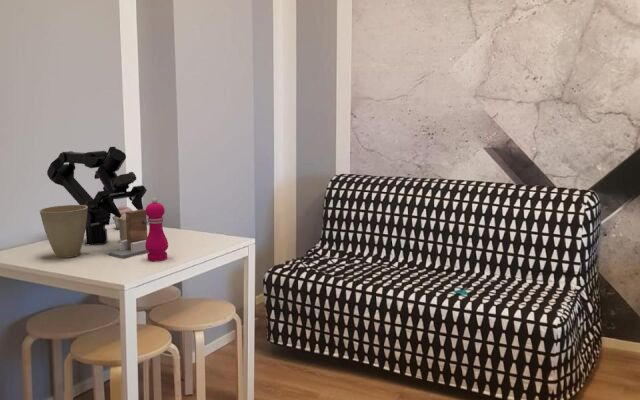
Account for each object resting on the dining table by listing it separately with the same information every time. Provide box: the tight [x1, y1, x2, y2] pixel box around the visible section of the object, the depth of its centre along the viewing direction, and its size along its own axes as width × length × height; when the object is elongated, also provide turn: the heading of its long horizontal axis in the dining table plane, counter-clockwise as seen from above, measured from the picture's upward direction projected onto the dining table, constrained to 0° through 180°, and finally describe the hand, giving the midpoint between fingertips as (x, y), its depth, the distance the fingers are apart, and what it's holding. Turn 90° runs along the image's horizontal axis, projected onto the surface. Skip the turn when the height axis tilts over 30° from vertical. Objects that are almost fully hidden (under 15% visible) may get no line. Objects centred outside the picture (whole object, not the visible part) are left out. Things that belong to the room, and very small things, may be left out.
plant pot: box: [39, 204, 88, 258], centre depth 227 cm, size 15×15×16 cm
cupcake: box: [111, 203, 133, 231], centre depth 272 cm, size 9×9×10 cm
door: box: [126, 209, 148, 251], centre depth 231 cm, size 4×6×13 cm, turn 142°
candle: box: [119, 214, 127, 242], centre depth 249 cm, size 6×6×10 cm
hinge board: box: [107, 240, 149, 259], centre depth 232 cm, size 8×18×4 cm, turn 142°
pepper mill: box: [145, 197, 169, 262], centre depth 221 cm, size 7×7×20 cm
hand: (131, 215), depth 232 cm, fingers open, 9 cm apart
